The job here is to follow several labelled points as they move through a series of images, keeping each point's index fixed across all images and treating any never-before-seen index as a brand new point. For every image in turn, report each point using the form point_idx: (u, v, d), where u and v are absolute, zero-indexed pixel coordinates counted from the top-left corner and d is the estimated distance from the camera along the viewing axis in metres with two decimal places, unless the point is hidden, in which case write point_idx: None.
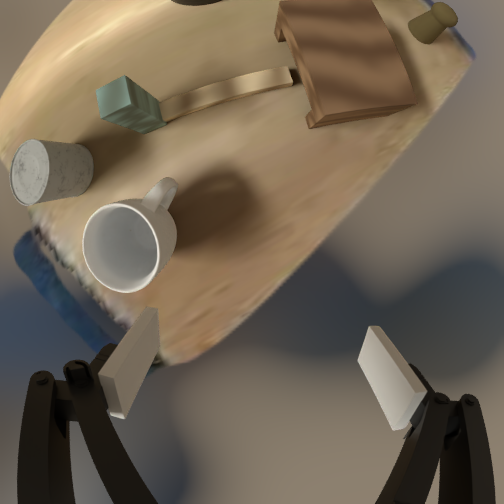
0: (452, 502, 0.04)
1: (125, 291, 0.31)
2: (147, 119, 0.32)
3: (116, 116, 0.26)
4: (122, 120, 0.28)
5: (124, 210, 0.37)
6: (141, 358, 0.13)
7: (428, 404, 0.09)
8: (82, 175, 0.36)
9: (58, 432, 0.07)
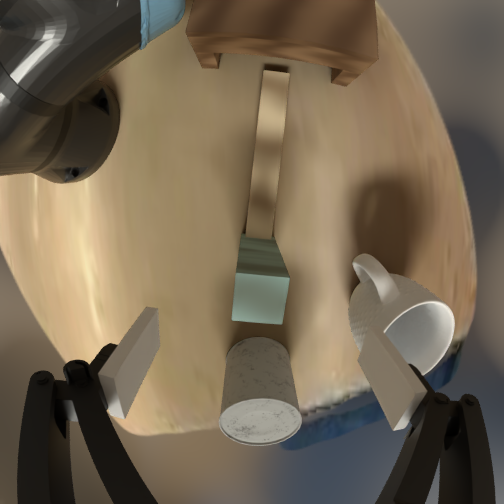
0: (452, 502, 0.04)
1: (444, 352, 0.24)
2: None
3: None
4: None
5: None
6: (141, 358, 0.13)
7: (428, 404, 0.09)
8: (281, 357, 0.35)
9: (58, 432, 0.07)
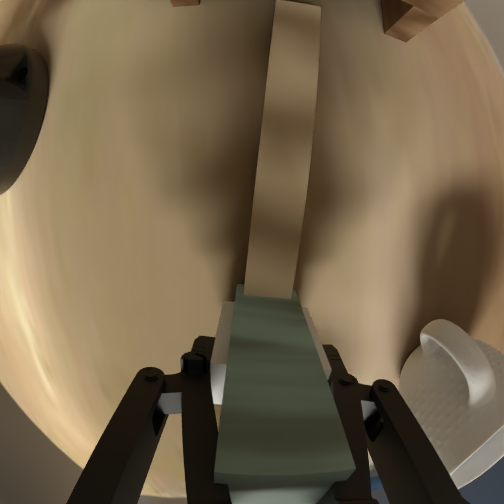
0: (404, 495, 0.05)
1: None
2: None
3: None
4: None
5: None
6: None
7: (333, 388, 0.10)
8: None
9: (151, 429, 0.08)
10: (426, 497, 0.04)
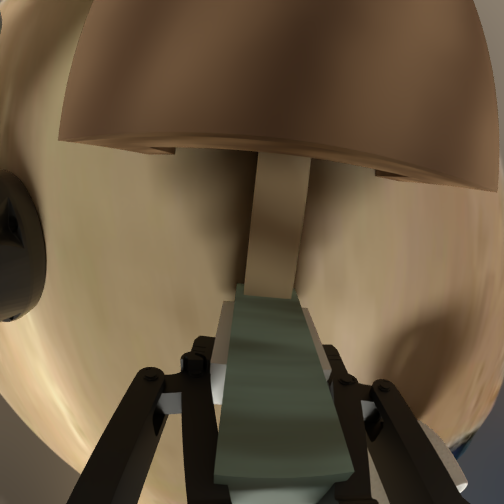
0: (404, 495, 0.05)
1: None
2: None
3: None
4: None
5: None
6: None
7: (333, 388, 0.10)
8: None
9: (151, 429, 0.08)
10: (426, 497, 0.04)
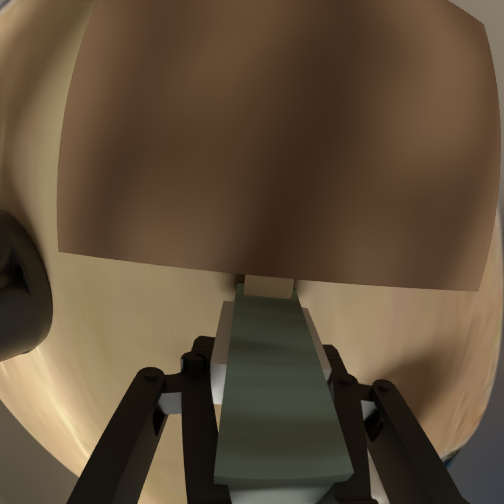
0: (404, 495, 0.05)
1: None
2: None
3: None
4: None
5: None
6: None
7: (333, 388, 0.10)
8: None
9: (151, 429, 0.08)
10: (426, 497, 0.04)
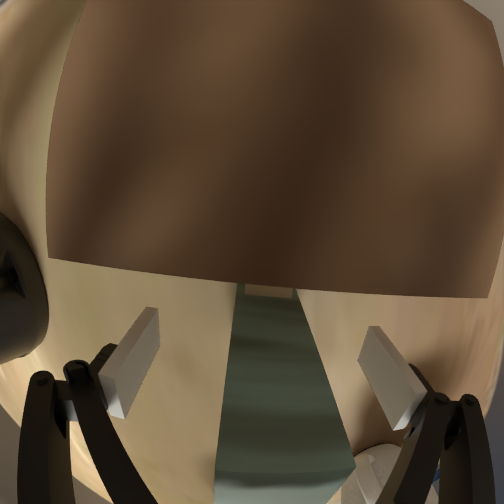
0: (452, 502, 0.04)
1: None
2: None
3: None
4: None
5: None
6: (141, 358, 0.13)
7: (428, 404, 0.09)
8: None
9: (58, 432, 0.07)
10: None
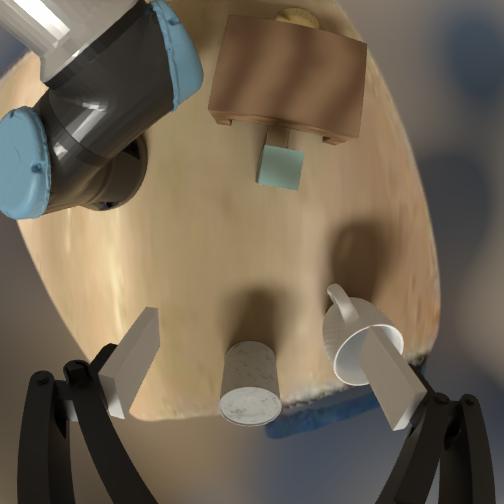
0: (452, 502, 0.04)
1: None
2: None
3: None
4: None
5: None
6: (141, 358, 0.13)
7: (428, 404, 0.09)
8: (268, 357, 0.45)
9: (58, 432, 0.07)
10: None
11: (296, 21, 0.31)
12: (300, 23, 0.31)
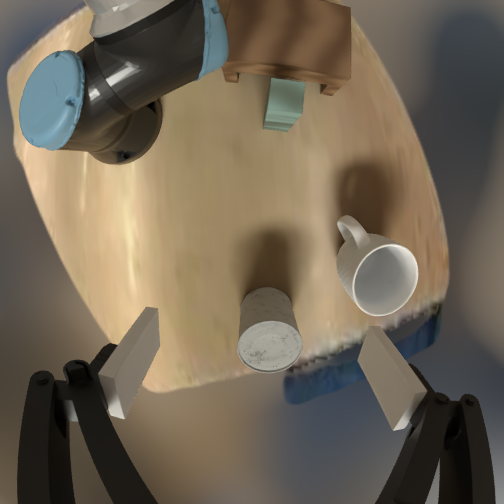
0: (452, 502, 0.04)
1: (412, 291, 0.36)
2: None
3: None
4: None
5: None
6: (141, 358, 0.13)
7: (428, 404, 0.09)
8: (285, 300, 0.46)
9: (58, 432, 0.07)
10: None
11: None
12: None
